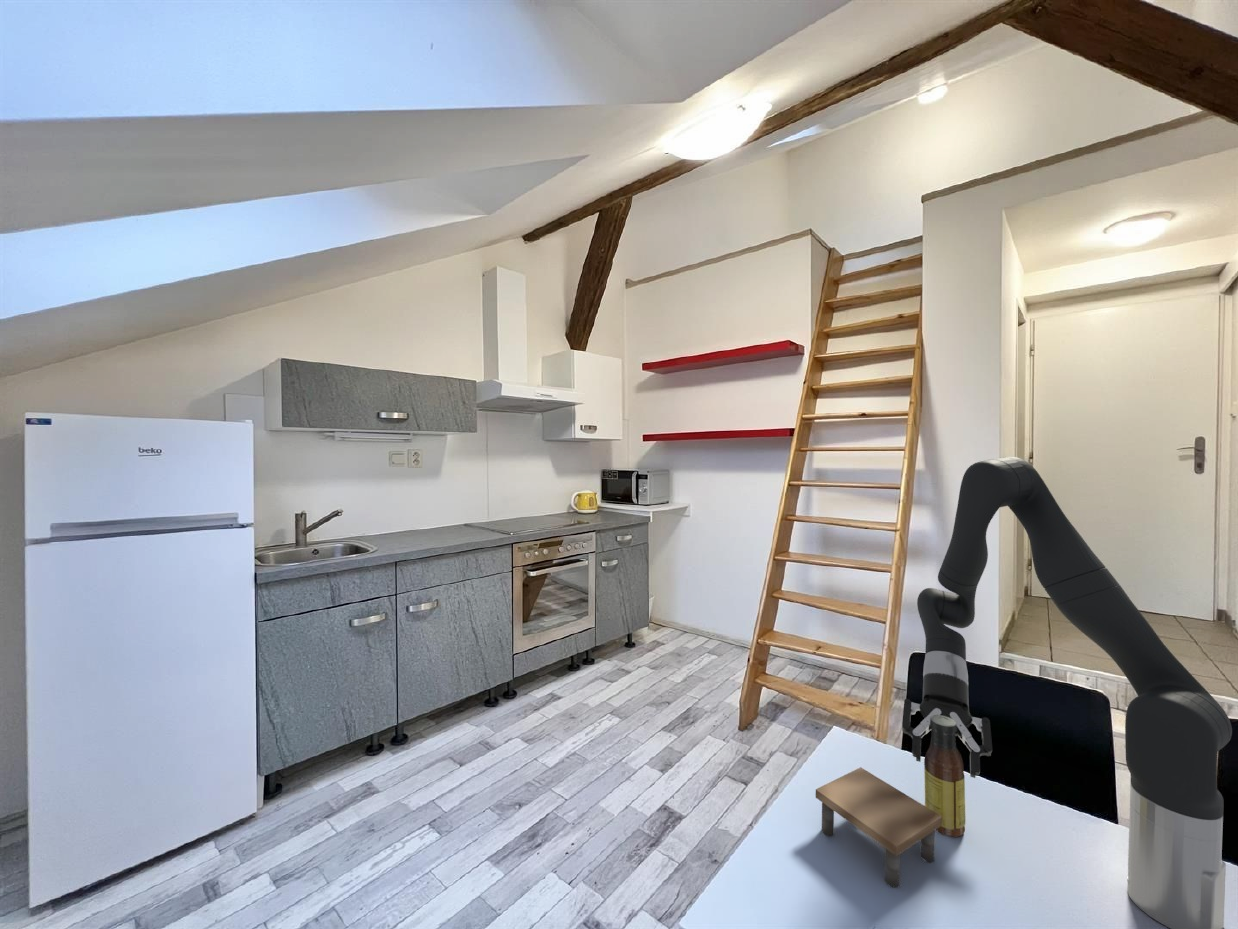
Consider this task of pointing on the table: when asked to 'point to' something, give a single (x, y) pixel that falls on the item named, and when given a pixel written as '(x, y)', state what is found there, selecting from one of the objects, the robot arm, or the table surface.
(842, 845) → the table surface
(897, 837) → the peg shelf
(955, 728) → the sauce bottle
